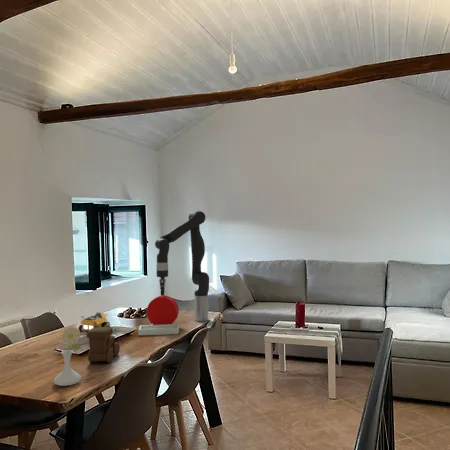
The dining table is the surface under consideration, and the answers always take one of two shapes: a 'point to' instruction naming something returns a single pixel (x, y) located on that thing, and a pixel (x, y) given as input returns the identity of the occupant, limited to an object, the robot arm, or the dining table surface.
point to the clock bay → (159, 329)
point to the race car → (93, 322)
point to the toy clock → (162, 310)
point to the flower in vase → (68, 375)
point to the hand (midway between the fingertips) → (162, 294)
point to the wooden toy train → (102, 344)
